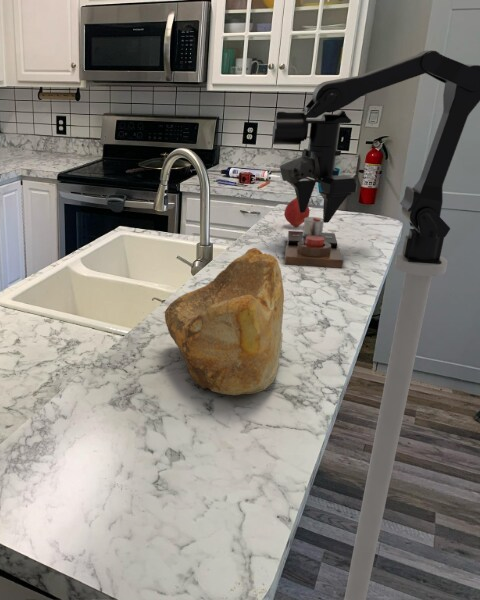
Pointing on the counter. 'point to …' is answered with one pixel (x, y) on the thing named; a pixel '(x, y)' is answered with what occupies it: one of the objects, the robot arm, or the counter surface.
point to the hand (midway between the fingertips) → (313, 217)
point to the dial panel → (298, 236)
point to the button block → (313, 255)
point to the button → (314, 241)
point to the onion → (295, 213)
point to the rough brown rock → (232, 326)
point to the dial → (313, 226)
